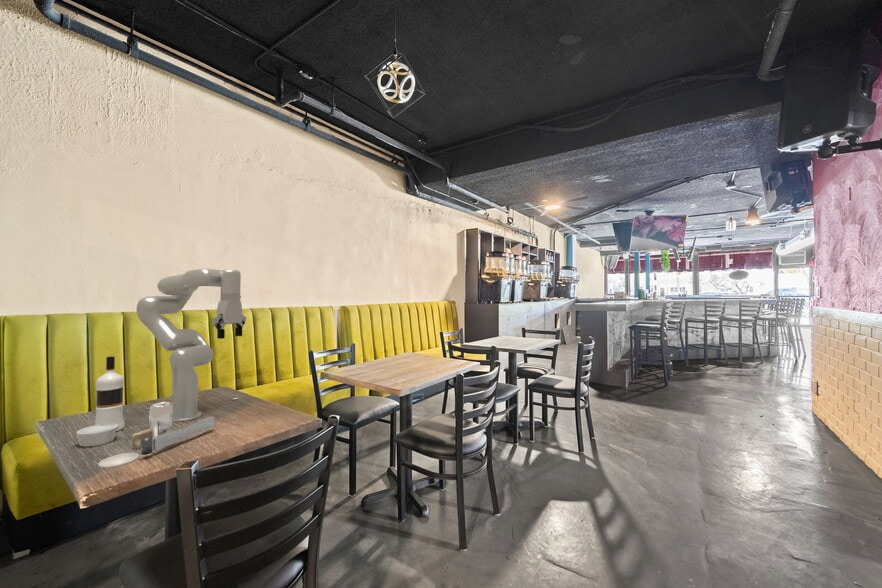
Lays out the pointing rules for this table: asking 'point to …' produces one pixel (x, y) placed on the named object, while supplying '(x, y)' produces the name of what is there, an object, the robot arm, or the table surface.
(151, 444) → the bar
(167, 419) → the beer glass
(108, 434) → the ramekin
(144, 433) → the block
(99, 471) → the table surface
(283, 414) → the table surface
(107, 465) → the white disc
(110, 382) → the vodka
